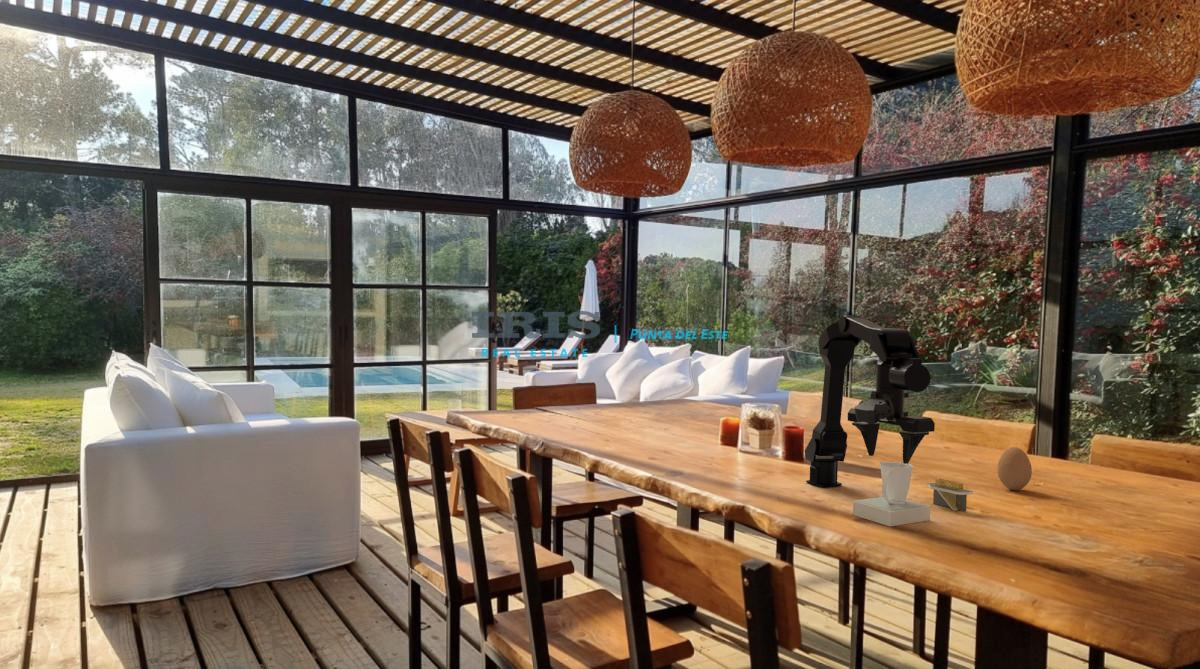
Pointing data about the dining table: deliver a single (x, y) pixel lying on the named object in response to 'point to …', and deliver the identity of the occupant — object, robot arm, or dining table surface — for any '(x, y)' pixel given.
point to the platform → (950, 495)
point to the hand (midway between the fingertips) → (888, 459)
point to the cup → (895, 481)
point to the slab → (891, 511)
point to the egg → (1014, 469)
